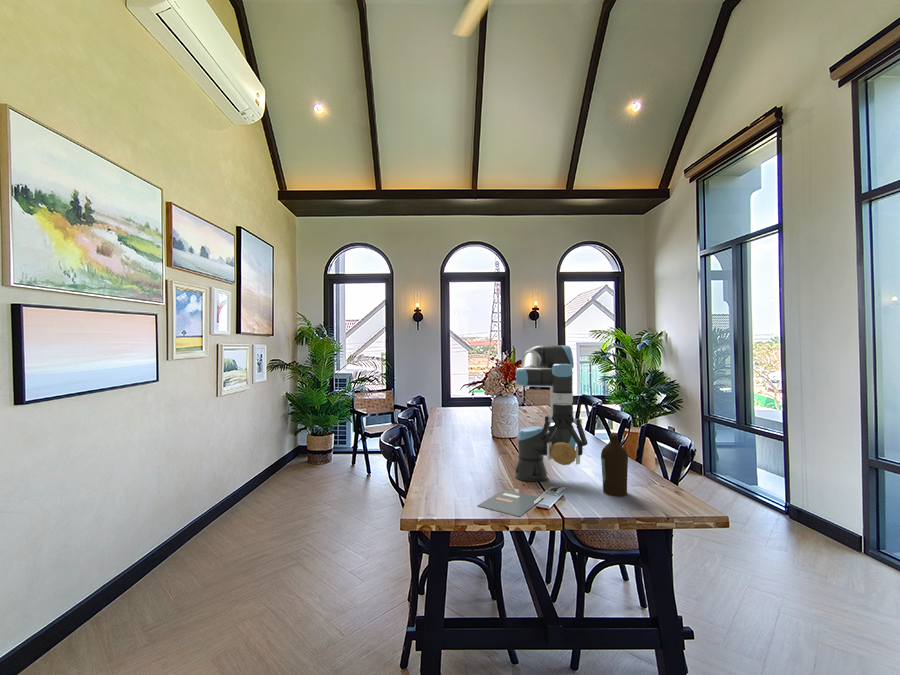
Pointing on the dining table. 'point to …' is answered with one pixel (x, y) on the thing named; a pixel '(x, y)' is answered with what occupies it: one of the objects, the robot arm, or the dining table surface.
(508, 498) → the tile
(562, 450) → the potato
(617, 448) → the olive oil
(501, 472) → the dining table surface
